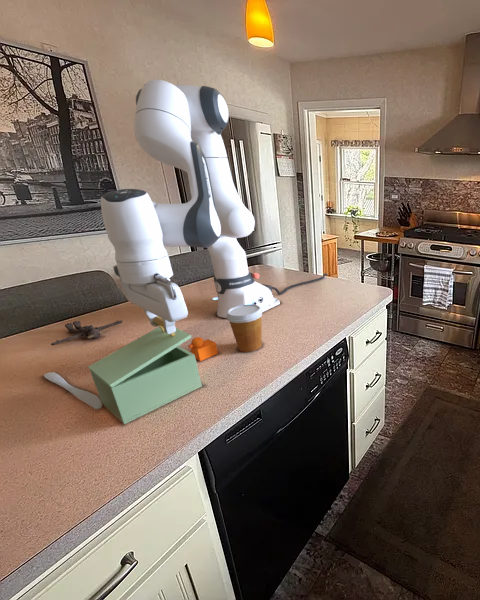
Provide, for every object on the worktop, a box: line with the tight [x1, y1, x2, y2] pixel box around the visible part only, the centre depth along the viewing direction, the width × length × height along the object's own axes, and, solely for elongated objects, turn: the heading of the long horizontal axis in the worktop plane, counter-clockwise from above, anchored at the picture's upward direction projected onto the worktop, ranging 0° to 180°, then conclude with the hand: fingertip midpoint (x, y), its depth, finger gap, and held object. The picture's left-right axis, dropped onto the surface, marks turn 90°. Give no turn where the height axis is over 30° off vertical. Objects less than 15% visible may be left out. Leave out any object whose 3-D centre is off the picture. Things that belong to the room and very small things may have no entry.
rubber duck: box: [187, 336, 219, 362], centre depth 90 cm, size 6×4×6 cm, turn 147°
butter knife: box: [43, 371, 103, 410], centre depth 76 cm, size 1×27×3 cm
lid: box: [87, 316, 193, 388], centre depth 70 cm, size 16×12×5 cm
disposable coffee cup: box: [225, 304, 264, 353], centre depth 95 cm, size 10×10×12 cm
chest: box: [89, 345, 203, 425], centre depth 74 cm, size 16×12×9 cm
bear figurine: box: [50, 319, 124, 346], centre depth 102 cm, size 18×4×14 cm
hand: (163, 328), depth 74 cm, fingers closed on lid, 5 cm apart
